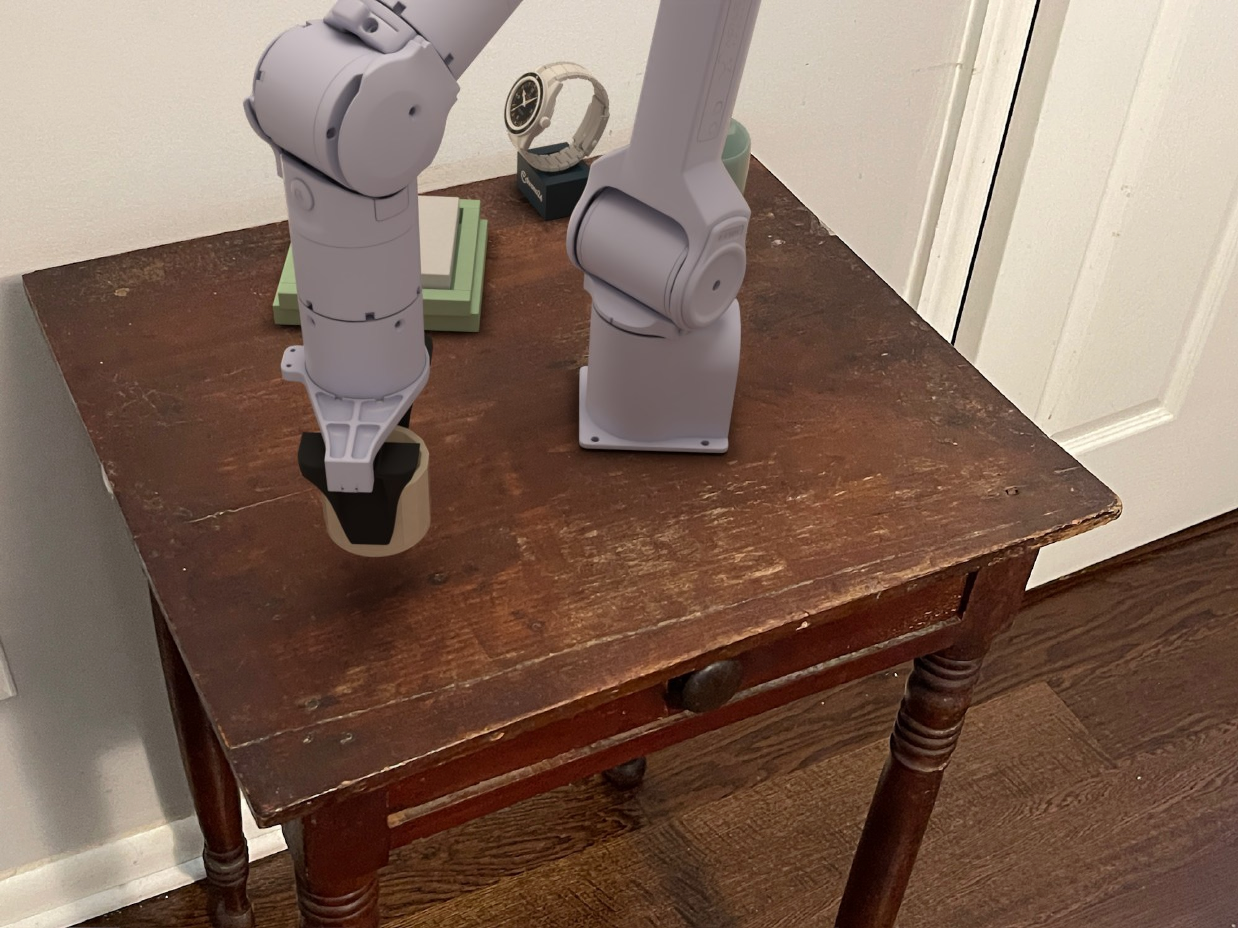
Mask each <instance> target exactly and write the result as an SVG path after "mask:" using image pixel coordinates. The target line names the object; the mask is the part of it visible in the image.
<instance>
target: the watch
mask: <svg viewBox="0 0 1238 928" xmlns="http://www.w3.org/2000/svg"><path fill="white" fill-rule="evenodd" d="M576 79H580V80H584V81H588V82H590V83H591V85H592V87H593V95H592V96H591V102H590V103H588V106H587V109H586V111H585V114H584V116H583V118H582V121H581V123H580V124H579V126H578V128H577V130H576V131H575V133H574V134H573V136H572V140H573V141H572V142H571V143H570V144H569V143H568V142H567V141H564V142H559V143H553V144H548V145H543V146H537V147H533V148H532V147H531V145H532V143H533V141H534V139H535V138H537V137H538V136H540V134H542V133H543V132H544V131H545V129H548V128H549V127H550V126H551V124H552V121H551V120H552V118H553V115H554V112H555V106H556V102H557V100H556V99H557V97H558V96H559V93H561V91H562V90H563V86H564V83H563V82H564V81H567V80H576ZM610 116H611V114H610V98H609V94H608V92H607V90H606V89H605V87H604V85H603V84H602V83H601V82H600V81H599V80H598V79H597V78H596V77H595V76H594V75H593V74H592V73H591V72H590V71H589V70H588V69H587V68H585V67H584V66H583V65H582V64H579V63H575V62H572V61H562V60H561V61H555V62H550V63H546V64H541V65H539V66H538V67H536V68H535V69H534V70H530V71H527V72H524V73H523V74H521V75H520V76H519V77H518V78H517V79H516V80H515V82H514V83H513V84H512V86H511V88H510V90H509V92H508V94H507V97H506V100H505V104H504V109H503V121H504V126H505V128H506V132H507V136H508V138H509V140H510V142H511V143H512V145H513V147H514V148H515V149H516V150H517V152H516V153H517V154H516V187H517V189H519V191H520V192H521V193H522V195H524V197H525V198H526V199H527V201H529V203H530V204H531V205H532V207H533V208H534V209H535V211H537V213H538V214H539V216H541V218H542V219H543V220H544V221H546V222H547V221H552V220H555V219H556V220H557V219H560V218H564V217H571V215H572V213H573V210H574V208H575V206H576V205H577V203H578V202H579V200H580V198H581V196H582V194H583V192H584V190H585V187H586V185H587V181H588V177H589V172H590V167H591V166H589V165H588V163H587V162H586V161H585V160H584V158H585V157H586V158H587V157H588V158H589V156H590V155H591V154H592V152H593V151H594V150H595V148H596V147H597V145H598V144H599V142H600V140H601V138H602V136H603V134H604V132H605V130H606V128H607V126H608V125H607V124H608V122H609V119H610ZM530 147H531V148H530Z"/></svg>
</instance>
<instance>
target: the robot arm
mask: <svg viewBox="0 0 1238 928" xmlns="http://www.w3.org/2000/svg"><path fill="white" fill-rule="evenodd" d="M522 2H524V0H337V1H336V3H335V4H333V6H332V7H331V8H330V10H329V11H328V12H327V13H326V14H325V16H324V17H323V19H322V18H319V19H309V20H306V21H305V24H296V25H294V26H292V27H290V28H289V27H288V29H285V30H284V31H282V32H280V33H279V34H277V36H276V37H274V38H273V39H272V40H271V41H270V42H269V44H267V46H266V47H265V48H264V50H263V52H262V53H261V55H260V57H259V59H258V62H257V64H256V66H255V69H254V73H253V78H252V89H251V93H250V95H248V96H246V97H244V99H243V100H242V106H243V110H244V113H245V114H244V115H245V117H246V120H247V122H248V124H249V126H250V127H251V129H252V131H253V132H254V133H255V134H256V135H257V136H258V138H260V139H261V140H262V141H264V142H265V143H266V144H267V145H269V147H270V148H271V150H272V152H273V155H274V159H275V167H276V173H277V174H276V175H277V177H279V178H281V179H282V180H283V188H284V198H285V206H286V215H287V222H288V230H289V236H290V237H289V238H290V244H291V247H292V256H293V264H294V272H295V281H296V289H297V296H298V304H299V311H300V320H301V325H300V327H301V335H302V343H303V345H298V344H297V345H296V344H295V345H290V346H288V347H286V349H285V350H284V352H283V355H282V359H281V363H280V370H281V372H280V373H281V377H282V379H283V380H285V381H286V382H295V383H301V384H302V385H304V387H305V390H306V393H307V394H308V399H309V401H310V405H311V407H312V410H313V413H314V416H315V420H316V421H317V425H318V428H319V430H320V431H319V432H318V431H317V432H314V431H302V433H301V437H300V441H299V445H298V449H297V455H296V456H297V463H298V468H299V470H300V473H301V475H302V477H303V478H305V479H306V480H307V481H309V482H310V483H311V484H313V485H314V486H315V487H316V488H317V489H318V490H319V491H320V493H321V492H322V493H323V494H324V495H325V496H326V498H327V499H328V501H329V502H330V504H331V506H332V508H333V510H334V511H335V513H336V516H337V518H338V520H339V522H340V524H341V527H342V529H343V531H344V533H345V535H346V537H347V538H348V540H349V542H350V543H351V544H362V545H388V544H390V541H391V539H392V536H393V532H394V527H395V521H396V514H397V506H398V502H399V498H400V495H401V493H402V491H403V489H404V488H405V486H406V485H407V484H408V483H409V482H410V481H411V479H412V477H413V475H414V473H415V470H416V468H417V464H418V458H419V450H420V443H400V442H385V440H386V439H387V438H388V436H389V435H390V434H391V432H392V431H393V429H394V428H395V427H396V425H398V426H401V427H404V428H408V429H410V421H411V415H412V409H413V406H414V402H415V401H416V399H417V398H418V397H419V395H420V394H421V393H422V391H423V390H424V389H425V387H426V385H427V383H428V381H429V379H430V375H431V366H432V359H433V352H434V341H433V338H432V336H431V335H430V334H429V333H427V332H425V330H424V320H423V295H422V278H421V255H420V233H419V208H418V196H419V187H418V186H419V185H418V177H419V176H420V174H421V173H422V172H423V171H425V170H427V168H428V167H430V166H431V164H432V163H433V162H434V159H436V156H437V153H438V152H439V149H440V147H441V145H442V142H443V138H444V134H445V130H446V125H447V120H448V116H449V114H450V111H451V110H452V108H453V106H454V105H456V103H457V101H458V97H457V96H458V94H459V93H460V91H461V86H460V85H459V83H458V81H459V79H460V78H461V77H462V76H463V74H464V73H465V72H466V70H467V69H468V68H469V67H470V66H471V65H472V63H473V62H474V61H475V60H476V59H477V57H479V55H480V53H481V52H482V51H483V50H484V49H485V47H486V46H487V45H488V44H489V43H490V41H491V40H492V39H493V38H494V36H496V34H497V33H498V32H499V30H500V29H501V28H502V27H503V25H505V23H506V22H507V21H508V19H509V18H510V17H511V16H512V15H513V13H514V12H515V11H516V10H517V8H518V7H520V5H521V4H522ZM761 5H762V0H659V6H658V10H657V14H656V19H655V25H654V28H653V33H652V38H651V43H650V46H649V47H650V48H649V52H648V56H647V61H646V65H645V71H644V75H643V79H642V85H641V89H640V94H639V98H638V103H637V108H636V112H635V117H634V120H633V121H634V122H633V125H632V131H631V136H630V139H629V143H628V144H625V145H622V146H620V147H617V148H615V149H612V150H611V151H608V152H607V153H604V154H602V155H601V156H599V157H598V158H596V159H595V160H594V161H593V162H591V164H590V166H589V167H590V172H589V177H588V181H587V185H586V187H585V190H584V192H583V194H582V196H581V198H580V200H579V202H578V203H577V205H576V206H575V208H574V210H573V213H572V215H570V218H569V221H568V225H567V231H566V238H565V239H566V240H565V247H566V253H567V257H568V259H569V261H570V263H571V264H572V265H573V266H574V267H575V268H576V269H578V270H580V271H581V272H582V273H583V287H582V288H583V290H585V291H586V292H587V293H588V294H589V295H590V296H591V308H590V328H589V341H588V357H587V365H583V366H581V367H580V368H579V373H578V375H579V378H578V379H579V381H578V383H579V386H578V388H579V389H578V392H579V394H578V399H579V400H578V401H579V402H578V403H579V404H578V413H579V414H578V443H579V446H580V447H581V448H584V449H592V450H593V449H594V450H623V451H625V450H626V451H648V452H649V451H651V452H675V453H676V452H678V453H682V452H683V453H709V454H712V453H713V454H723V453H724V454H725V453H727V451H728V449H729V439H728V438H729V431H730V426H731V419H732V412H733V406H734V399H735V394H736V387H737V382H738V381H737V380H738V374H739V366H740V357H741V345H742V344H741V341H742V340H741V339H742V336H741V335H742V323H741V321H742V320H741V311H740V310H741V309H740V303H739V300H738V298H736V297H737V296H738V294H739V292H740V289H741V287H742V285H743V282H744V279H745V275H746V270H747V248H746V242H747V241H746V240H747V232H748V227H749V222H750V218H751V215H752V211H751V208H750V206H749V204H748V202H747V201H746V199H745V196H744V197H743V196H742V194H741V192H740V191H739V189H738V188H737V186H736V184H735V183H734V181H733V180H732V178H731V176H730V175H729V173H728V171H727V170H726V168H725V166H724V164H723V162H722V159H721V157H722V153H723V149H724V145H725V141H726V137H727V133H728V129H729V125H730V121H731V118H733V113H734V109H735V106H736V102H737V97H738V95H739V89H740V86H741V82H742V78H743V74H744V70H745V66H746V63H747V59H748V55H749V51H750V47H751V42H752V39H753V35H754V31H755V28H756V23H757V19H758V15H759V12H760V9H761Z"/></svg>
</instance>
